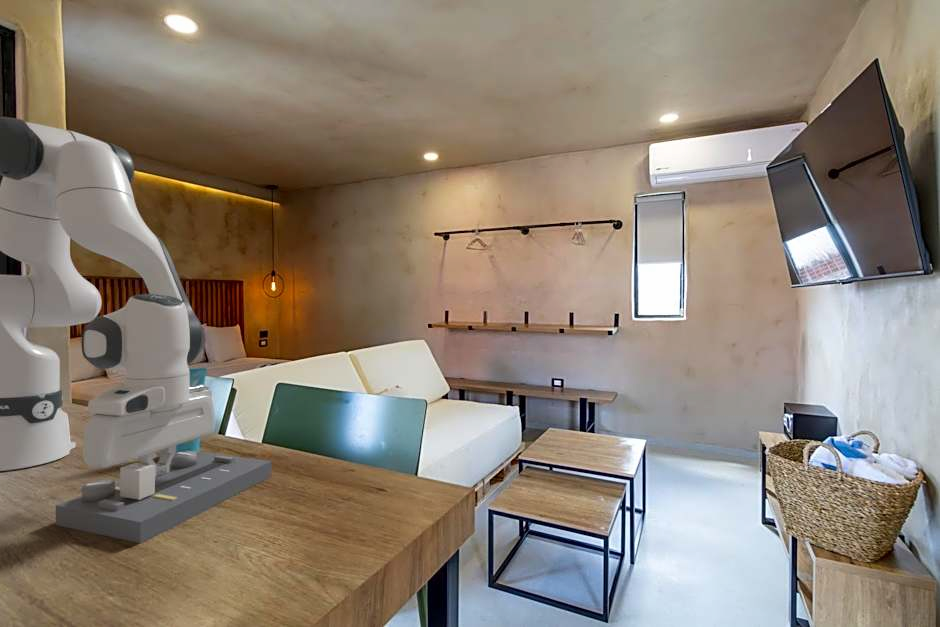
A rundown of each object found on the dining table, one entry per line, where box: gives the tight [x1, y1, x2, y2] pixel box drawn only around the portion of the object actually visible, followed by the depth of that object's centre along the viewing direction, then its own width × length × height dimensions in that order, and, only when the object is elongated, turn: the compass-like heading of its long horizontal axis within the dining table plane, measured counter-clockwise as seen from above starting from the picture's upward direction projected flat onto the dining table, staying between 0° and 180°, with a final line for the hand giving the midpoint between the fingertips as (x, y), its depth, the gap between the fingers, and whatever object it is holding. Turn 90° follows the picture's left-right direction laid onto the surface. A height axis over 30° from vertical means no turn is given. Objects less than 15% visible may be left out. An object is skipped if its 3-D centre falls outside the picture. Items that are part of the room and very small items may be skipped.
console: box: [55, 451, 273, 544], centre depth 77 cm, size 17×26×5 cm, turn 164°
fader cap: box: [119, 462, 155, 500], centre depth 70 cm, size 4×2×5 cm, turn 74°
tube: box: [175, 367, 208, 454], centre depth 99 cm, size 7×5×19 cm, turn 123°
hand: (157, 476), depth 73 cm, fingers closed
